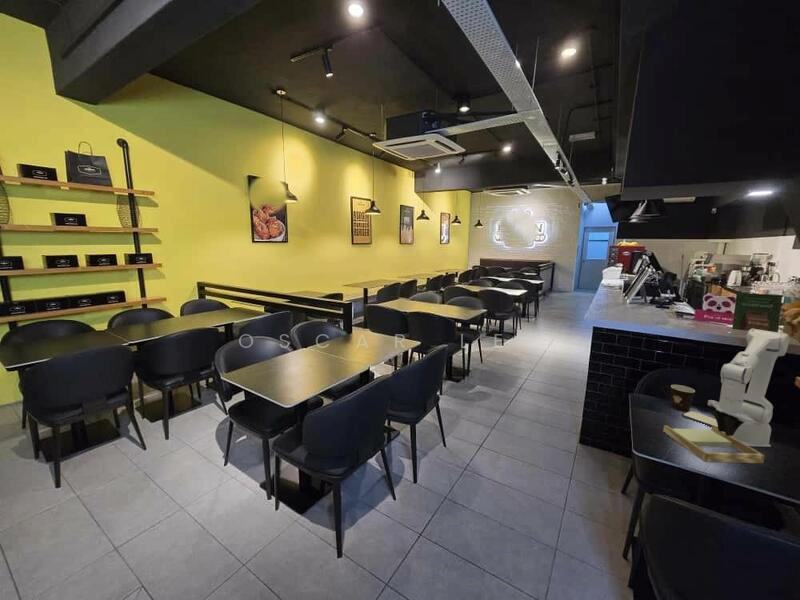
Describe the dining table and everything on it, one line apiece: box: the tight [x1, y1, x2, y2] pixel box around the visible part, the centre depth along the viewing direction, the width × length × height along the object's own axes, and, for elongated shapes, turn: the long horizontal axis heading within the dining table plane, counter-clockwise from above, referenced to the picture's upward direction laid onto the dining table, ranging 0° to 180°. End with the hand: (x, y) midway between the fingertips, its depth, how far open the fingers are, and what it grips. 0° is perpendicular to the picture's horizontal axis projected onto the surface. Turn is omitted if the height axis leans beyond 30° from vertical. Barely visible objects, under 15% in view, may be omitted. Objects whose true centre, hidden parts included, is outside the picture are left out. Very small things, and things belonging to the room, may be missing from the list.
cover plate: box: [672, 428, 732, 448], centre depth 128 cm, size 16×9×2 cm, turn 89°
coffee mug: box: [661, 384, 696, 413], centre depth 154 cm, size 12×9×10 cm
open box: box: [662, 424, 766, 464], centre depth 123 cm, size 20×19×3 cm
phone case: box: [681, 410, 718, 428], centre depth 141 cm, size 9×2×16 cm
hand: (725, 433), depth 117 cm, fingers closed
